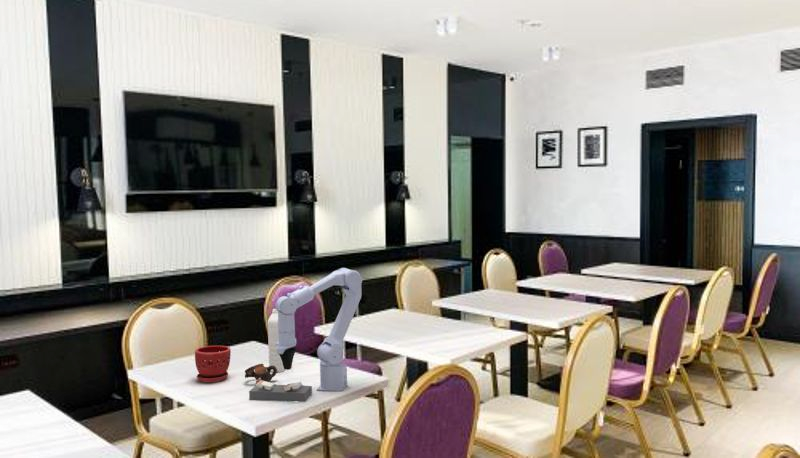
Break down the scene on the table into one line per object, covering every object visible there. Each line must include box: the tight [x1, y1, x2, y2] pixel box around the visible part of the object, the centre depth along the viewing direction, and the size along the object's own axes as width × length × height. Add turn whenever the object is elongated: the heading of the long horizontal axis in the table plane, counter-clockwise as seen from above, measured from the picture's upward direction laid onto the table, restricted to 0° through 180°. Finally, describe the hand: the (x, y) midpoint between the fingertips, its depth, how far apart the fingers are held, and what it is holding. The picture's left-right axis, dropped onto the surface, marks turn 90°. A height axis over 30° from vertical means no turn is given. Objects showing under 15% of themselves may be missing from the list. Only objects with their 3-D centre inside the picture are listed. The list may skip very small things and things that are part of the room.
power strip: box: [248, 383, 313, 403], centre depth 219 cm, size 20×8×3 cm, turn 80°
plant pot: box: [194, 345, 232, 383], centre depth 241 cm, size 13×13×12 cm
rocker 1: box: [256, 380, 275, 390], centre depth 218 cm, size 5×4×2 cm
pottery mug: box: [244, 363, 278, 385], centre depth 236 cm, size 12×10×8 cm
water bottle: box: [267, 308, 286, 373], centre depth 252 cm, size 9×6×25 cm
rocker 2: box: [284, 381, 302, 391], centre depth 216 cm, size 5×4×2 cm
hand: (287, 369), depth 220 cm, fingers closed
